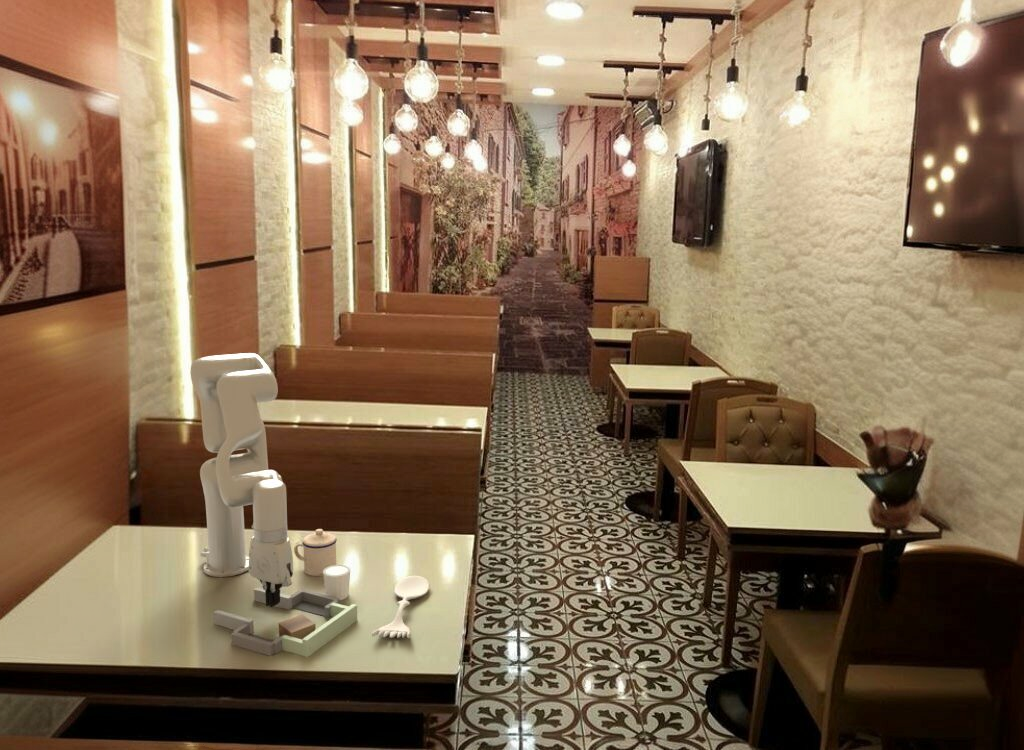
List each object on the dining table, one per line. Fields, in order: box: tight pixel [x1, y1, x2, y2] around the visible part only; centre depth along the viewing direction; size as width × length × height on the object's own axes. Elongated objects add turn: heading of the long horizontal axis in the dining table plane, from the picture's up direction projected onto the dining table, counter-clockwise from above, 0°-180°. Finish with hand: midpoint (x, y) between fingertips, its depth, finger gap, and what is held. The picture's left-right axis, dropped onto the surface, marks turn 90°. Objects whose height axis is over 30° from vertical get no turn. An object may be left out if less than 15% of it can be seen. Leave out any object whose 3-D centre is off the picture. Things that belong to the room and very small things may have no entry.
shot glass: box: [322, 564, 351, 601], centre depth 200 cm, size 7×7×7 cm
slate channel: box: [213, 587, 358, 658], centre depth 186 cm, size 29×18×4 cm, turn 65°
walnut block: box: [278, 614, 317, 640], centre depth 179 cm, size 6×6×4 cm
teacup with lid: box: [293, 528, 337, 577], centre depth 215 cm, size 12×9×12 cm
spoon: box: [371, 575, 431, 639], centre depth 192 cm, size 9×32×4 cm, turn 177°
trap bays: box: [230, 589, 341, 657], centre depth 185 cm, size 12×25×2 cm, turn 155°
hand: (273, 604), depth 187 cm, fingers closed
